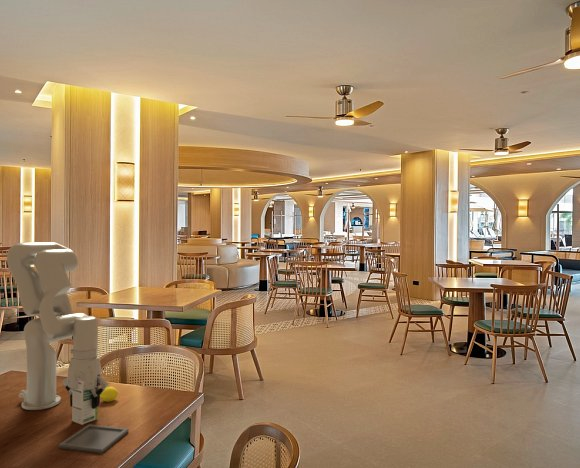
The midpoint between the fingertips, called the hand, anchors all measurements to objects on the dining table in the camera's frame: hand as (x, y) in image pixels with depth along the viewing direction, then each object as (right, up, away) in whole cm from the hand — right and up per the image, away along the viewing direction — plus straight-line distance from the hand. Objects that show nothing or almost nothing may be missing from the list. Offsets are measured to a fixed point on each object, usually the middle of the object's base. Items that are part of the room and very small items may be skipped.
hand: (84, 405), depth 152 cm
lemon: (+1, -5, +17) cm, 18 cm away
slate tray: (+9, -5, -14) cm, 18 cm away
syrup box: (0, -5, 0) cm, 5 cm away
